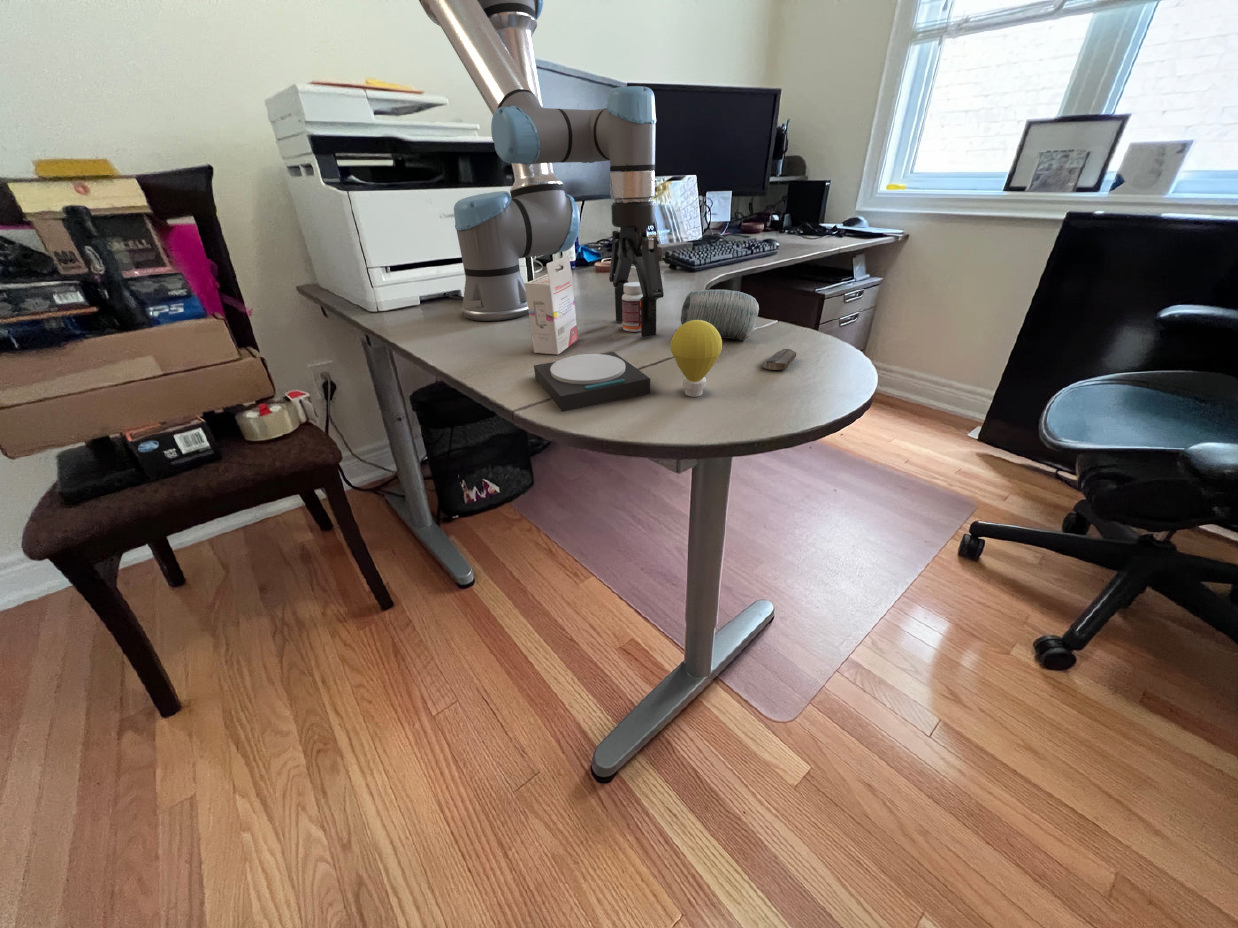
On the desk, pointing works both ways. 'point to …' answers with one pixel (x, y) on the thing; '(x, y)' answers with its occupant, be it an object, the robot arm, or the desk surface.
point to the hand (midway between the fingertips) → (635, 328)
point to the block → (780, 360)
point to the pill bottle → (632, 307)
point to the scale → (590, 380)
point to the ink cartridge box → (552, 309)
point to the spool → (722, 311)
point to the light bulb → (695, 353)
